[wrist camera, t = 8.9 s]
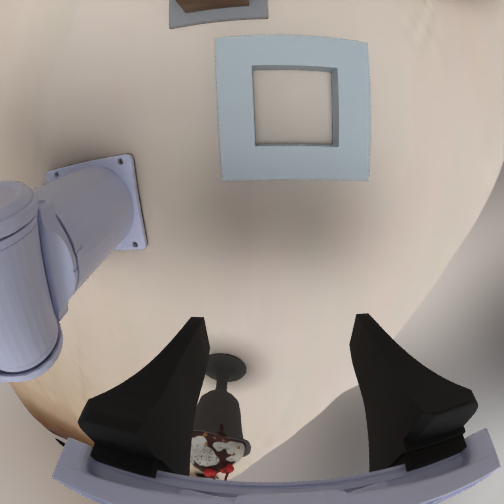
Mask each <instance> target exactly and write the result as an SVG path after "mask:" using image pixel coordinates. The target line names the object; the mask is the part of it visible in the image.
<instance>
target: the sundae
mask: <svg viewBox="0 0 504 504" xmlns="http://www.w3.org/2000/svg"><path fill="white" fill-rule="evenodd" d="M245 373H246V366H245V364H244V363H243V362H242V361H241V360H239V359H238V358H236V357H234V356H231V355H228V354H215V355H211V356H209V358H208V365H207V369H206V375H208V376H209V377H211V378H213V379H215V380H217V384H216V390H212V391H209V392H208V393H206V394H204V395H203V396H202V397H201V399H200V401H199V403H198V405H197V407H196V412H195V419H194V426H193V434H192V443H191V454H190V462H191V463H192V464H193V465H194V467H195V468H197V469H198V470H200V471H202V472H203V473H204V475H205V476H207V477H211V478H213V479H215V478H214V477H215V476H216V475H217V473H218V472H222V473H226V476H225V481H226V480H227V477H228V474H229V473H231V472H233V470H234V467H233V466H232V465H233V464H235V463H237V462H238V461H239V460H240V459H241V458H242V457H244V456H247V455H248V454H249V453H250V450H251V446H250V443H249V442H248V441H247V440H245V439H243V434H242V427H241V414H240V408H239V403H238V401H237V399H236V398H235V397H234V396H233V395H232V394H230V393H228V392H227V383H228V382H231V381H236V380H239V379H240V378H242V377H243V376H244V375H245ZM215 480H216V479H215Z"/></svg>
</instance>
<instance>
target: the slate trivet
mask: <svg viewBox="0 0 504 504" xmlns="http://www.w3.org/2000/svg"><path fill="white" fill-rule="evenodd" d="M246 19H268V10H267V0H249V6H242V7H230V8H220V9H212V10H204V11H198V12H192V13H185V12H184V11H183V9H182V8H181V7H180V6H179V4H178V3H177V2H176V1H175V0H169V28H170V29H174V28H179V27H185V26H190V25H197V24H204V23H212V22H221V21H231V20H246Z"/></svg>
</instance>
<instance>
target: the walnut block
mask: <svg viewBox="0 0 504 504" xmlns="http://www.w3.org/2000/svg"><path fill="white" fill-rule="evenodd" d="M175 1H176V2H177V3H178V4H179V6H180V7H181V8H182V9H183V11H184V12H185V13H192V12H198V11H204V10H212V9H220V8H230V7H242V6H249V0H175Z"/></svg>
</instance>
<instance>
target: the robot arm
mask: <svg viewBox="0 0 504 504" xmlns="http://www.w3.org/2000/svg"><path fill="white" fill-rule="evenodd" d="M120 159H123V164H121V163H120ZM57 172H58V175H57ZM46 180H47V184H44V185H42V186H40V187H38V188H36V189H34V190H33V189H31V188H29V187H28V186H27V185H26V184H24V183H22V182H18V181H0V383H2V382H23V381H28V380H31V379H34V378H36V377H38V376H40V375H42V374H43V373H45V372H46V371H47V370H48V369H49V368H50V367H51V366H52V365H53V364H54V363H55V361H56V360H57V359H58V356H59V354H60V352H61V349H62V344H63V334H62V330H61V326H60V323H59V321H60V320H61V319H62V318H63V316H64V315H65V314H66V313H67V311H68V301H69V299H70V298H71V297H72V295H74V293H75V292H76V291H77V290H78V289H79V288H80V286H81V285H82V284H83V283H84V282H85V281H86V280H87V278H88V277H89V276H90V275H91V274H92V273H93V272H94V271H95V269H96V268H97V267H98V266H99V265H100V264H101V263H102V262H103V261H104V260H105V259H106V258H107V256H108V255H109V254H110V253H111V252H112V251H113V250H142V249H144V248H145V247H146V246H147V240H146V235H145V229H144V224H143V219H142V213H141V208H140V202H139V195H138V189H137V182H136V175H135V168H134V160H133V157H132V155H130V154H123V155H117V156H112V157H107V158H101V159H97V160H92V161H87V162H83V163H78V164H74V165H70V166H66V167H62V168H58V169H54V170H50V171H48V172H47V173H46ZM134 242H137V244H138V245H135V243H134ZM349 345H350V352H351V358H352V363H353V367H354V370H355V373H356V377H357V380H358V383H359V387H360V390H361V394H362V397H363V401H364V406H365V412H366V420H367V428H368V439H369V464H370V466H369V468H370V469H369V471H370V472H369V473H364V474H358V475H353V476H347V477H339V478H331V479H324V480H312V481H298V482H239V481H225V480H215V479H206V478H198V477H191V476H189V471H190V454H191V443H192V434H193V426H194V419H195V412H196V407H197V402H198V398H199V395H200V391H201V388H202V384H203V380H204V377H205V373H206V369H207V365H208V358H209V351H210V345H209V341H208V336H207V331H206V326H205V321H204V317H191V318H190V319H189V320H188V321H187V323H186V324H185V325H184V326H183V328H182V329H181V330H180V331H179V332H178V334H177V335H176V336H175V337H174V338H173V339H172V340H171V342H170V343H169V344H168V345H167V346H166V347H165V348H164V349H163V350H162V351H161V352H160V353H159V354H158V355H157V356H156V357H155V358H154V359H153V360H152V361H151V362H150V363H149V364H148V365H146V366H145V367H144V368H143V369H142V370H140V371H139V372H138V373H136V374H135V375H133V376H132V377H130V378H129V379H128V380H126V381H125V382H123V383H121V384H120V385H118V386H116V387H114V388H112V389H111V390H109V391H107V392H105V393H102V394H100V395H98V396H96V397H93V398H91V399H89V400H88V401H87V403H86V405H85V407H84V409H83V411H82V413H81V416H80V418H79V420H78V424H79V426H80V428H81V429H82V430H83V431H84V432H85V433H86V434H87V435H88V436H89V437H90V438H91V439H92V440H93V441H94V442H95V444H94V447H93V448H92V447H91V446H89V445H87V444H85V443H82V442H80V441H77V440H74V439H72V438H68V439H67V442H66V444H65V446H64V449H63V451H62V453H61V456H60V458H59V460H58V463H57V465H56V468H55V470H54V473H53V475H52V477H53V479H55V480H57V481H58V482H60V483H61V484H63V485H64V486H66V487H68V488H69V489H71V490H73V491H75V492H76V493H78V494H81V495H82V496H84V497H87V498H89V499H91V500H93V501H96V502H98V503H100V504H437V503H439V502H441V501H444V500H446V499H448V498H450V497H452V496H455V495H456V494H459V493H461V492H462V491H465V490H467V489H468V488H471V487H472V486H474V485H475V484H477V483H479V482H480V481H482V480H483V479H485V478H486V477H488V476H489V475H491V474H492V473H494V472H495V471H496V470H498V469H499V468H500V467H501V466H500V463H499V460H498V457H497V454H496V451H495V448H494V446H493V443H492V440H491V438H490V435H489V433H488V430H487V429H486V428H485V429H483V430H481V431H478V432H477V433H474V434H472V435H470V436H468V437H467V438H465V439H464V437H463V434H464V433H465V428H464V425H465V424H466V423H467V421H468V420H469V419H470V418H471V417H472V416H473V415H474V413H475V412H476V410H477V408H478V403H477V401H476V399H475V397H474V395H473V393H472V391H471V390H470V389H467V388H465V387H462V386H460V385H457V384H455V383H453V382H451V381H449V380H447V379H445V378H443V377H441V376H439V375H437V374H436V373H434V372H433V371H431V370H429V369H428V368H427V367H425V366H423V365H422V364H421V363H420V362H418V361H417V360H416V359H414V358H413V357H412V356H411V355H409V354H408V353H407V352H406V351H405V350H404V349H403V348H401V347H400V346H399V345H398V344H397V343H396V342H395V341H394V340H393V339H392V338H391V337H390V336H389V335H388V334H387V333H386V332H385V331H384V330H383V329H382V328H381V327H380V325H379V324H378V323H377V322H376V321H375V320H374V319H373V318H372V317H371V316H370V315H369V314H368V313H367V314H356V318H355V323H354V327H353V332H352V336H351V340H350V344H349ZM350 492H351V493H350ZM215 496H217V497H215Z"/></svg>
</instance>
